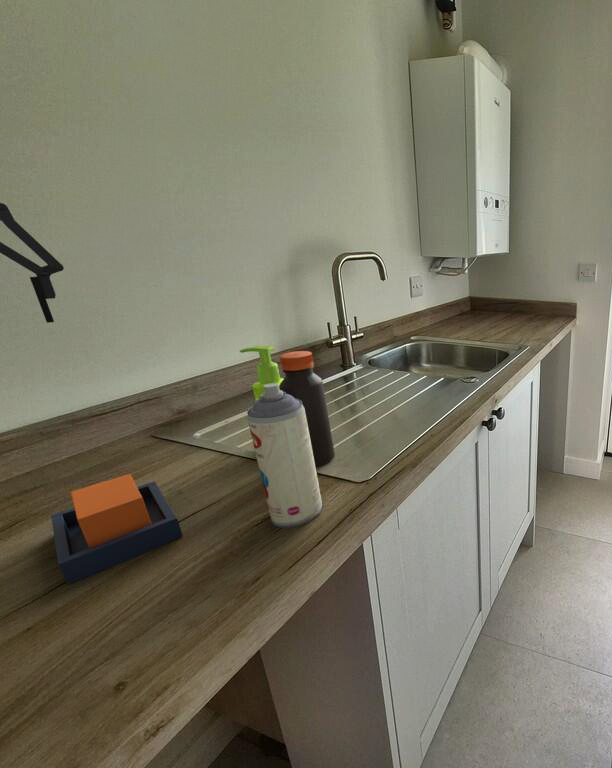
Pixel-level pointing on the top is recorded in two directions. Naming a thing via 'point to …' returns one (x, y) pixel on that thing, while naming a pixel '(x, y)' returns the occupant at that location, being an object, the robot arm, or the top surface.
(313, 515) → the aerosol can
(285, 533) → the top surface
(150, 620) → the top surface
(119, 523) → the block
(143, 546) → the dark blue rectangular tray
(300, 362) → the bottle
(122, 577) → the top surface
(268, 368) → the soap dispenser
